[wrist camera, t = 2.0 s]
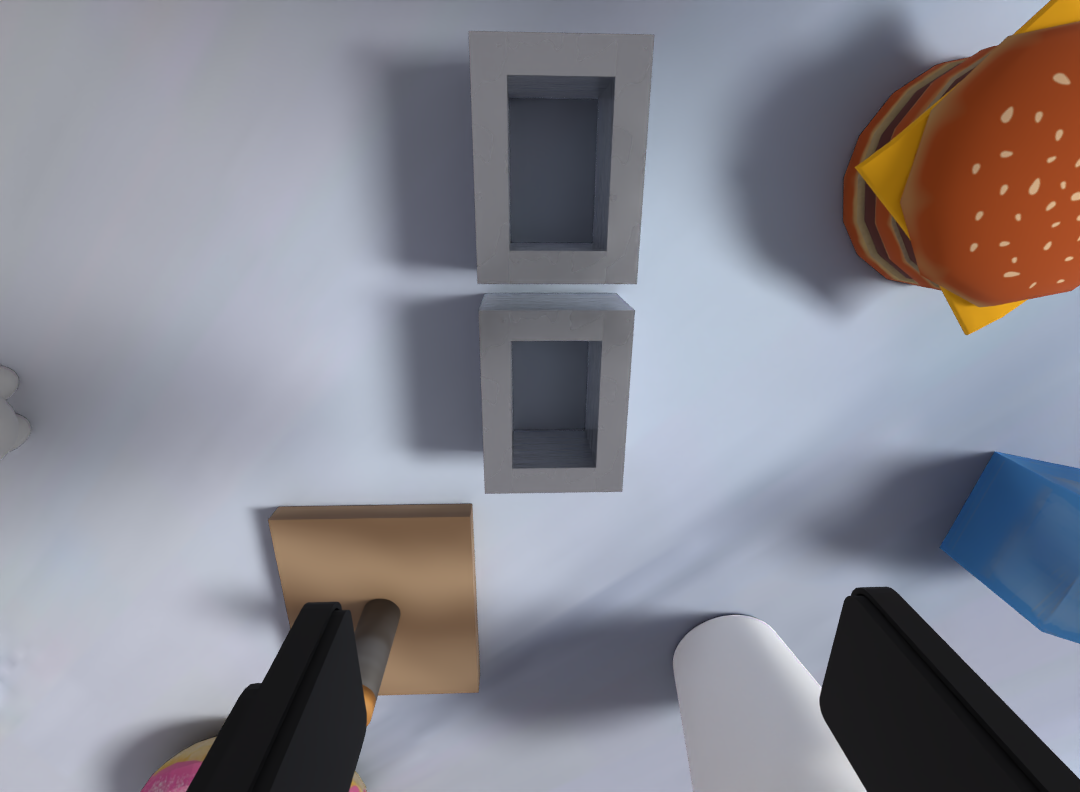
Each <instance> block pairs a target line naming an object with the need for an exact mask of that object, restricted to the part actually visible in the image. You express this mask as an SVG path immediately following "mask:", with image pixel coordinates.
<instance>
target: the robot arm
mask: <svg viewBox="0 0 1080 792" xmlns="http://www.w3.org/2000/svg"><path fill="white" fill-rule="evenodd" d="M819 705H820V710H821V713H822V716H823V718H824V720H825V722H826V724H827V725H828V727H829V729H830V730H831V732H832V734H833V735H834V737H835V739H836V741H837V742H838V744H839V746H840V747H841V749H842V751H843V752H844V754H845V756H846V757H847V759H848V761H849V762H850V764H851V766H852V767H853V769H854V771H855V772H856V774H857V776H858V777H859V779H860V781H861V783H862V784H863V786H864V788H865V789H866V791H867V792H1080V779H1079V778H1078V777H1077V776H1076V775H1075V774H1074V773H1073V772H1072V771H1071V770H1070V769H1069V768H1068V767H1067V766H1066V765H1065V764H1064V763H1063V762H1062V761H1061V760H1060V759H1059V758H1058V757H1057V756H1056V755H1055V754H1054V753H1053V752H1052V751H1051V750H1050V748H1049V747H1048V746H1047V745H1046V744H1045V743H1044V742H1043V741H1042V740H1041V739H1040V738H1039V737H1038V736H1037V735H1036V734H1035V733H1034V732H1033V731H1032V730H1031V729H1030V728H1029V727H1028V726H1027V725H1026V724H1025V723H1024V722H1023V721H1022V720H1021V719H1020V718H1019V717H1018V716H1017V715H1016V714H1015V713H1014V712H1013V711H1012V710H1011V709H1010V708H1009V707H1008V706H1007V705H1006V703H1005V702H1004V701H1003V700H1002V699H1001V698H1000V697H999V696H998V695H997V694H996V693H995V692H994V691H993V690H992V689H991V688H990V687H989V686H988V685H987V684H986V683H985V682H984V681H983V680H982V679H981V678H980V677H979V676H978V675H977V674H976V673H975V672H974V671H973V670H972V669H971V668H970V667H969V666H968V665H967V664H966V663H965V662H964V661H963V660H962V658H961V657H960V656H959V655H958V654H957V653H956V652H955V651H954V650H953V649H952V648H951V647H950V646H949V645H948V644H947V643H946V642H945V641H944V640H943V639H942V638H941V637H940V636H939V635H938V634H937V633H936V632H935V631H934V630H933V629H932V628H931V627H930V626H929V625H928V624H927V623H926V622H925V621H924V620H923V619H922V618H921V617H920V616H919V615H918V613H917V612H916V611H915V610H914V609H913V608H912V607H911V606H910V605H909V604H908V603H907V602H906V601H905V600H904V599H903V598H902V597H901V596H900V595H899V594H898V593H897V592H896V591H894V590H893V589H892V588H889V587H861V588H856V589H854V590H853V592H852V594H851V596H847V597H846V598H845V600H844V603H843V607H842V611H841V615H840V619H839V623H838V627H837V631H836V635H835V639H834V642H833V646H832V650H831V654H830V658H829V662H828V666H827V670H826V674H825V678H824V681H823V685H822V689H821V693H820V698H819ZM366 726H367V711H366V705H365V699H364V692H363V686H362V679H361V673H360V666H359V660H358V653H357V647H356V640H355V634H354V627H353V621H352V615H351V612H350V610H342V607H341V604H340V603H339V602H307V603H306V604H304V606H303V607H302V609H301V611H300V612H299V614H298V616H297V618H296V620H295V622H294V624H293V626H292V627H291V629H290V631H289V633H288V635H287V637H286V639H285V641H284V643H283V644H282V646H281V648H280V650H279V652H278V654H277V656H276V658H275V659H274V661H273V663H272V665H271V667H270V669H269V671H268V673H267V674H266V676H265V678H264V680H263V682H262V683H255V684H250V685H249V686H248V687H247V688H246V689H245V690H244V691H243V692H242V694H241V695H240V697H239V698H238V700H237V702H236V704H235V705H234V707H233V709H232V711H231V712H230V714H229V716H228V718H227V719H226V721H225V723H224V725H223V727H222V728H221V730H220V732H219V734H218V735H217V737H216V739H215V741H214V743H213V744H212V746H211V748H210V750H209V751H208V753H207V755H206V757H205V759H204V760H203V762H202V764H201V766H200V767H199V769H198V771H197V773H196V774H195V776H194V778H193V780H192V782H191V783H190V785H189V787H188V789H187V790H186V792H349V790H350V786H351V783H352V779H353V776H354V772H355V769H356V765H357V762H358V758H359V755H360V751H361V748H362V744H363V741H364V737H365V733H366Z"/></svg>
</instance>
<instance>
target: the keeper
mask: <svg viewBox="0 0 1080 792" xmlns="http://www.w3.org/2000/svg"><path fill="white" fill-rule="evenodd" d="M268 522H269V527H270V532H271V537H272V541H273V546H274V551H275V556H276V561H277V566H278V571H279V575H280V580H281V585H282V590H283V595H284V600H285V605H286V609H287V614H288V619H289V624H290V629H291V627H292V626H293V624H294V622H295V620H296V618H297V616H298V614H299V612H300V611H301V609H302V607H303V606H304V604H306V603H307V602H339V603H340V604H341V607H342V610H350V612H351V615H352V621H353V627H354V634H355V640H356V647H357V653H358V660H359V666H360V673H361V679H362V686H363V692H364V699H365V705H366V711H367V726H368V724H369V723H370V721H371V717H372V714H373V710H374V707H375V703H376V700H377V696H378V695H409V694H444V693H478V692H479V681H480V665H479V642H478V620H477V598H476V576H475V554H474V532H473V510H472V504H427V505H362V506H296V507H278V508H277V509H276V511H275V512H274V513H273V514H272V516H271V517H270V518H269V519H268ZM367 726H366V727H367Z"/></svg>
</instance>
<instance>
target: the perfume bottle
mask: <svg viewBox="0 0 1080 792" xmlns="http://www.w3.org/2000/svg"><path fill="white" fill-rule="evenodd" d="M940 548H941V549H942V550H943V551H944V552H945V553H947V554H948V555H949V556H950V557H952V558H953V559H954V560H955V561H956V562H958V563H959V564H960V565H961V566H963V567H964V568H965V569H966V570H967V571H969V572H970V573H971V574H972V575H973V576H975V577H976V578H977V579H978V580H980V581H981V582H982V583H983V584H984V585H986V586H987V587H988V588H989V589H991V590H992V591H993V592H994V593H995V594H997V595H998V596H999V597H1000V598H1002V599H1003V600H1004V601H1005V602H1006V603H1008V604H1009V605H1010V606H1011V607H1012V608H1014V609H1015V610H1016V611H1017V612H1019V613H1020V614H1021V615H1022V616H1023V617H1025V618H1026V619H1027V620H1028V621H1030V622H1031V623H1032V624H1033V625H1034V626H1036V627H1037V628H1038V629H1039V630H1041V631H1042V632H1045V633H1048V634H1051V635H1054V636H1057V637H1060V638H1064V639H1067V640H1070V641H1073V642H1076V643H1079V644H1080V469H1079V468H1074V467H1069V466H1064V465H1059V464H1054V463H1049V462H1044V461H1039V460H1034V459H1029V458H1024V457H1019V456H1015V455H1010V454H1005V453H1000V452H994V454H993V455H992V457H991V459H990V461H989V462H988V464H987V466H986V468H985V469H984V471H983V473H982V475H981V476H980V478H979V480H978V482H977V483H976V485H975V487H974V488H973V490H972V492H971V494H970V495H969V497H968V499H967V501H966V502H965V504H964V506H963V508H962V509H961V511H960V513H959V515H958V516H957V518H956V520H955V522H954V523H953V525H952V527H951V528H950V530H949V532H948V534H947V535H946V537H945V539H944V541H943V542H942V544H941V546H940Z"/></svg>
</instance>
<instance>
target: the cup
mask: <svg viewBox="0 0 1080 792" xmlns="http://www.w3.org/2000/svg"><path fill="white" fill-rule="evenodd" d="M673 671H674V677H675V683H676V689H677V695H678V701H679V707H680V713H681V719H682V725H683V731H684V738H685V744H686V750H687V756H688V762H689V768H690V774H691V780H692V786H693V792H867V791H866V789H865V788H864V786H863V784H862V783H861V781H860V779H859V777H858V776H857V774H856V772H855V771H854V769H853V767H852V766H851V764H850V762H849V761H848V759H847V757H846V756H845V754H844V752H843V751H842V749H841V747H840V746H839V744H838V742H837V741H836V739H835V737H834V735H833V734H832V732H831V730H830V729H829V727H828V725H827V724H826V722H825V720H824V718H823V716H822V713H821V710H820V705H819V698H820V693H821V689H822V688H821V686H820V685H819V684H818V683H817V682H816V680H815V679H814V678H813V677H812V675H811V674H810V673H809V672H808V671H807V669H806V668H805V667H804V666H803V665H802V663H801V662H800V661H799V660H798V659H797V657H796V656H795V655H794V654H793V652H792V651H791V650H790V649H789V648H788V646H787V645H786V644H785V643H784V642H783V640H782V639H781V638H780V637H779V636H778V634H777V633H776V632H775V631H774V630H773V628H772V627H770V626H769V625H768V624H767V623H765V622H763V621H761V620H759V619H757V618H754V617H750V616H744V615H727V616H721V617H717V618H714V619H711V620H708V621H706V622H704V623H702V624H700V625H698V626H697V627H695V628H694V629H692V630H691V631H690V632H689V633H687V634H686V636H685V637H684V638H683V639H682V640H681V641H680V643H679V644H678V646H677V648H676V650H675V653H674V657H673Z"/></svg>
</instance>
